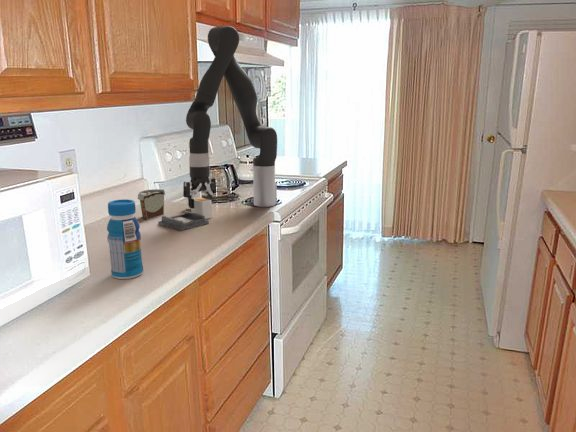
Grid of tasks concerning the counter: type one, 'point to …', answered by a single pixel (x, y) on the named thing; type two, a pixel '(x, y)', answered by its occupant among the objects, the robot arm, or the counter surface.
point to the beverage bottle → (124, 240)
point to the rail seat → (183, 221)
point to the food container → (152, 203)
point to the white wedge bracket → (194, 198)
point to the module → (202, 207)
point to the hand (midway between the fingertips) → (200, 206)
